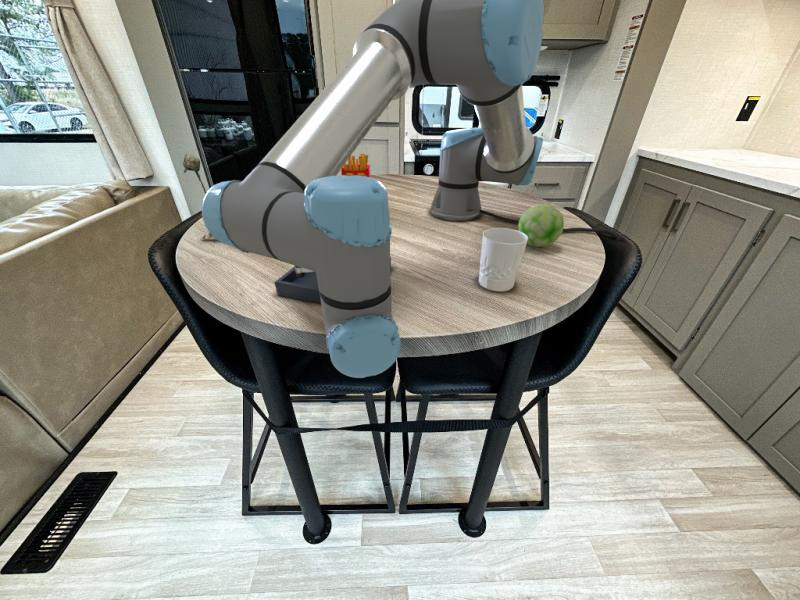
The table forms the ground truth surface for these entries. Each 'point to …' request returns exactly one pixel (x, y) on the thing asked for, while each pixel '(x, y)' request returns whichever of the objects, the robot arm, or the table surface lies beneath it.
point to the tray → (299, 286)
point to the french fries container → (357, 167)
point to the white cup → (501, 258)
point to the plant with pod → (194, 165)
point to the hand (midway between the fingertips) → (330, 227)
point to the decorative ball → (541, 225)
